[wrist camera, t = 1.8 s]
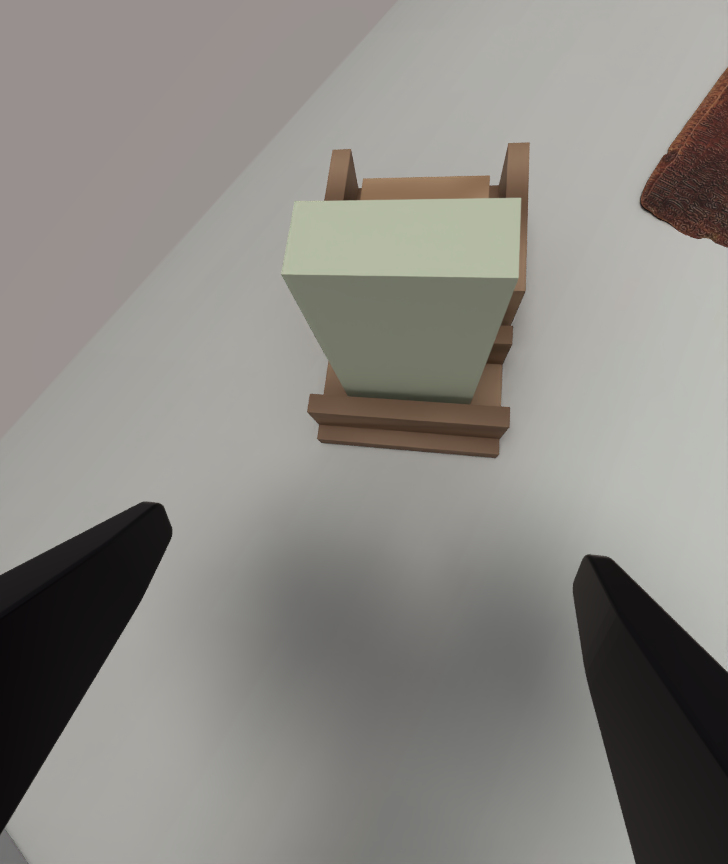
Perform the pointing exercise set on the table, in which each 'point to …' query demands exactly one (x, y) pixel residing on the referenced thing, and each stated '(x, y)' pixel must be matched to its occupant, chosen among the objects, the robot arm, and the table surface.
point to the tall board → (405, 290)
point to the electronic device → (9, 851)
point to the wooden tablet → (696, 173)
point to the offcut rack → (419, 420)
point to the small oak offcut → (425, 188)
